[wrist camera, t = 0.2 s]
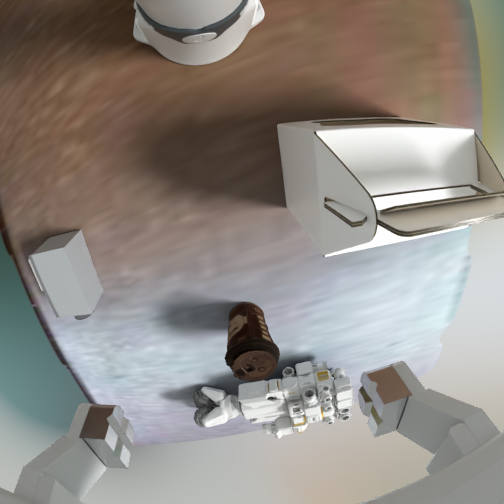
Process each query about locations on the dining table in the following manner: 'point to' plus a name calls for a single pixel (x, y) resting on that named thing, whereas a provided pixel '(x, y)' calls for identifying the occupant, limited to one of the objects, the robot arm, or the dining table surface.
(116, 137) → the dining table surface
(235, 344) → the coffee cup
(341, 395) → the spaceship
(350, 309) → the dining table surface
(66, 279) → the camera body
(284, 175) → the gable box
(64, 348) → the dining table surface
